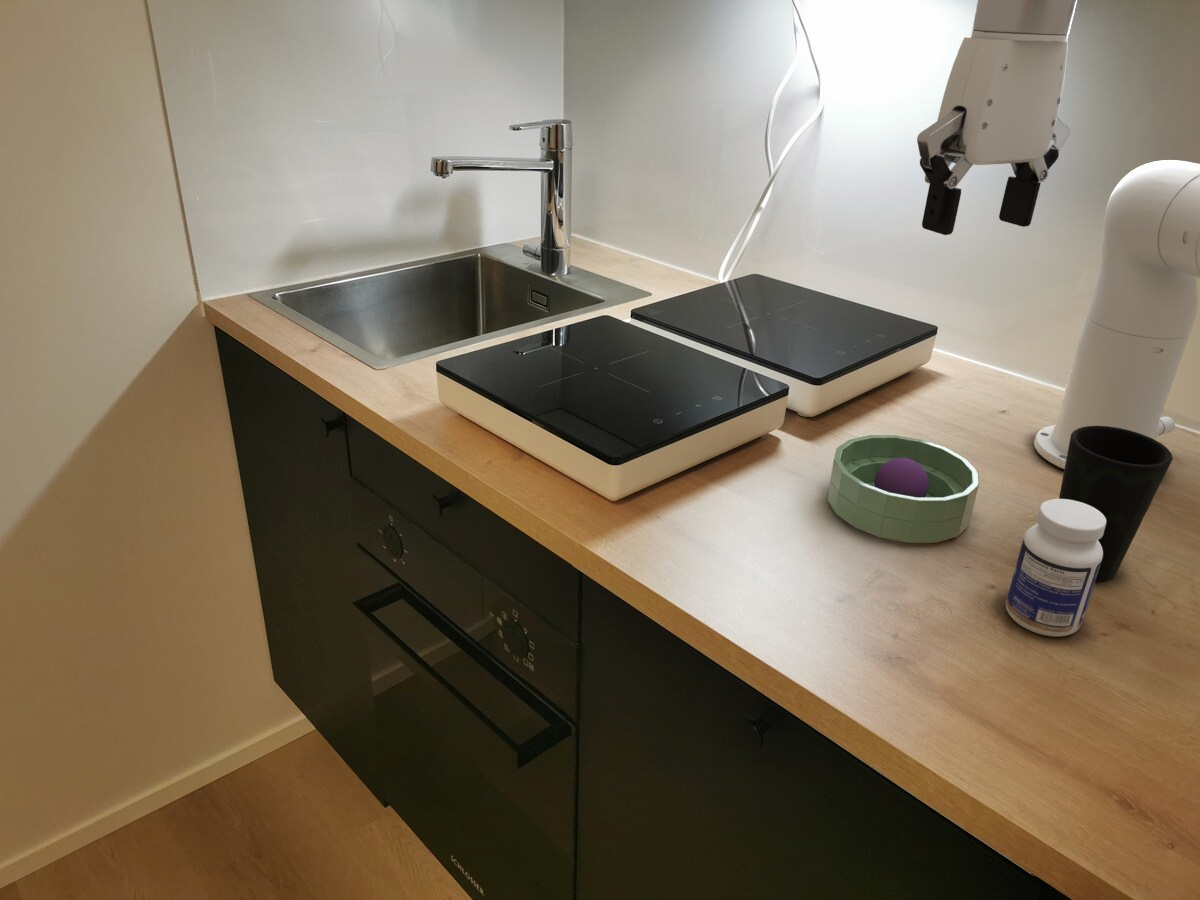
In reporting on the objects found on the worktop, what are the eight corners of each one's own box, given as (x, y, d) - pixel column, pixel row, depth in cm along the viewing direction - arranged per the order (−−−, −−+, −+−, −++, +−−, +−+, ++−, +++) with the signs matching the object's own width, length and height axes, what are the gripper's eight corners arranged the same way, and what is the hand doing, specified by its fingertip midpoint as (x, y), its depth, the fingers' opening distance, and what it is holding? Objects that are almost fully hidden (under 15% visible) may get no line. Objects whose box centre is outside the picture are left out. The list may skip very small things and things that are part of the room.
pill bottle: (1031, 589, 78) (1062, 487, 73) (1094, 625, 74) (1130, 520, 69) (989, 609, 75) (1018, 505, 70) (1051, 648, 71) (1087, 540, 66)
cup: (1141, 595, 78) (1187, 471, 72) (1046, 582, 79) (1084, 459, 73) (1114, 547, 84) (1154, 430, 79) (1027, 535, 86) (1061, 420, 80)
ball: (898, 489, 92) (907, 445, 89) (934, 512, 88) (945, 467, 85) (859, 499, 90) (867, 454, 87) (895, 524, 86) (904, 477, 83)
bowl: (899, 468, 97) (908, 426, 95) (997, 529, 86) (1009, 483, 84) (800, 492, 91) (806, 448, 89) (891, 560, 81) (901, 512, 79)
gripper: (1055, 20, 82) (1010, 212, 89) (910, 16, 75) (875, 225, 82) (1131, 24, 76) (1075, 229, 84) (981, 20, 69) (935, 245, 76)
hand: (976, 227), depth 83 cm, fingers open, 9 cm apart
